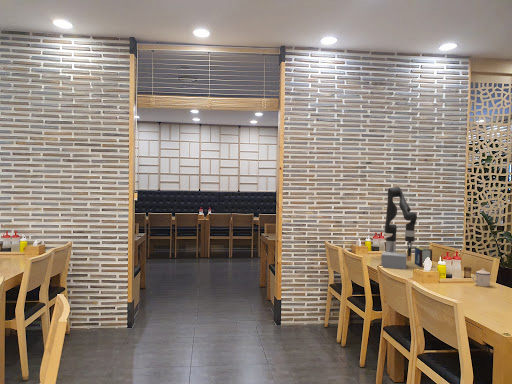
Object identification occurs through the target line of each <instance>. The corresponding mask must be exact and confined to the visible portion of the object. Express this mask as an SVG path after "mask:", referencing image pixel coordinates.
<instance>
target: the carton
mask: <svg viewBox="0 0 512 384" xmlns="http://www.w3.org/2000/svg"><path fill="white" fill-rule="evenodd" d="M380 257H381V258H380V259H381V261H380V262H381V263H380V264H381V265H380V266H383V267H384V269H385V268H386V269H399V270H407V262H408V261H407V257H395V256H382V255H381V256H380ZM383 267H382V268H383Z"/></svg>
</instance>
